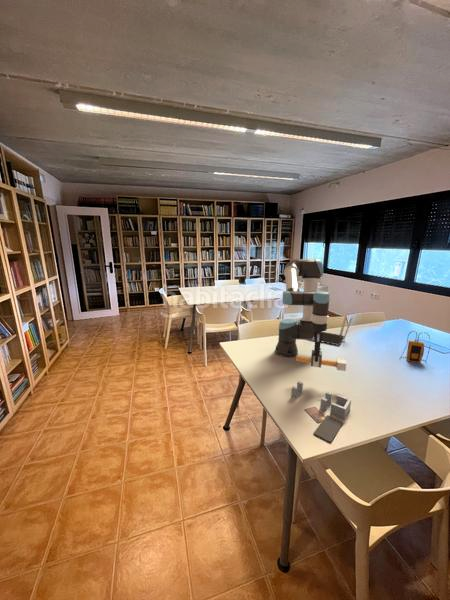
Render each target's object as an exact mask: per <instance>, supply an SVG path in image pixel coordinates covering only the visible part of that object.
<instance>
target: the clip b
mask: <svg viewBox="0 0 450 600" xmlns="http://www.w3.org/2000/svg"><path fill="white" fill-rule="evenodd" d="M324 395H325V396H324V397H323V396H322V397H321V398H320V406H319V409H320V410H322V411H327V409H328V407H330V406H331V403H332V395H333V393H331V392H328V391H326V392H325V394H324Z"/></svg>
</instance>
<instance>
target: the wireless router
mask: <svg viewBox="0 0 450 600" xmlns="http://www.w3.org/2000/svg"><path fill="white" fill-rule="evenodd" d="M347 317H348V314H347V313H346V314H345V315H344V318H343V322H342V325H341V327H340V328H341V329H340V333H339V334H338V333H337V334H336V333H331V332H326V331H322V334H323V335H322V341H323V342H322V343H324V342H327V343H326V344H329V343H332V344H331V345H334V344H336V345H335V346H338V345H340V344H341V343H342V340H343V341H345V339H346V337H347V334H348V332H349V328H350V326H351V323H352V320H353V317H351V318H350V319H349V322H348V324H347V327H346V329H345V333H344V328H345V324H346V320H347ZM343 333H344V335H343Z"/></svg>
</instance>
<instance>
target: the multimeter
mask: <svg viewBox="0 0 450 600" xmlns="http://www.w3.org/2000/svg"><path fill="white" fill-rule="evenodd" d="M413 332H414V333H416V337H415V340H409V338H407V340H406V341H407V342H406V346H405V347H404V349H403V351H402V354H401V356H400V357H399V359H401V357H403V355H404V353H405V350H407V351H406V356H404V357H405V360H406V361H407V362H413V363H419V364H421V363H422V361H424V362H426V361H427V360H428V356H429V353H430V349H431V346H429V347H428V348H429V349H428V353H427V356H426V359H425V360H424V359H423V356H424V353H425V352H424V351H425V343H424V342H422V341H419V339H420V338H419V336H420V335H421V334H422V332H421V333H419V334H418V332H417V331H415V330H413V331H410V332H409V333H408V335H407V337H409V335H410V334H411V333H413ZM417 335H418V336H417ZM425 335H428V338H429V339H431V338H430V334H428V332H425ZM406 348H407V349H406Z"/></svg>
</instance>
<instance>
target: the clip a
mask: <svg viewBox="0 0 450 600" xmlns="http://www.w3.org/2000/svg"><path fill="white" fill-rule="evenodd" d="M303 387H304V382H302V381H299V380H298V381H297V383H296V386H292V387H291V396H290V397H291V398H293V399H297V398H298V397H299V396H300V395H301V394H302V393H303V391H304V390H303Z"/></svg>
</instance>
